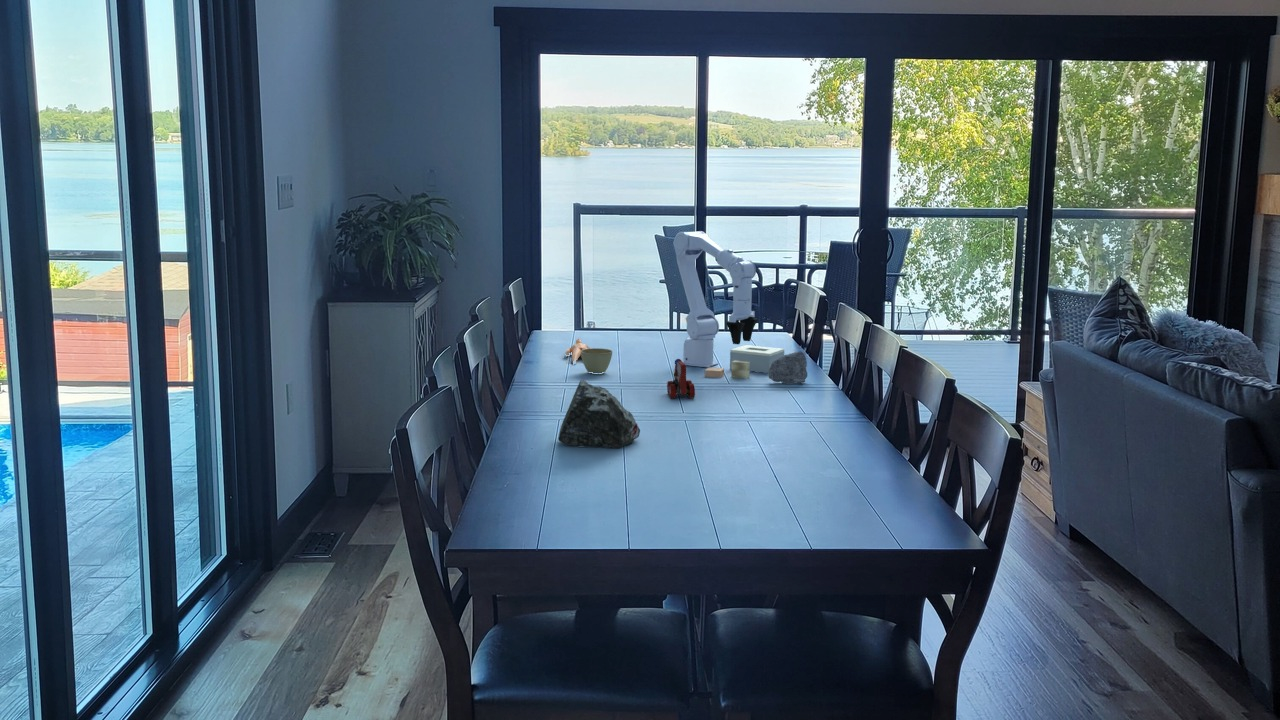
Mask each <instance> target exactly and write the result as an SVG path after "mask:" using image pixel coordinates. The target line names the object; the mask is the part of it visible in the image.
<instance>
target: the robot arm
mask: <svg viewBox="0 0 1280 720" xmlns="http://www.w3.org/2000/svg"><path fill="white" fill-rule="evenodd" d="M672 245H673V248H674V252H675V257H676V263H677V267H678V271H679V274H680V279H681V282H682V285H683V289H684V292H685V297H686V300H687V305H688V307H689V310H690V311H689V312H688V314H687V316H686V317H685V322H686V333H687V335H688V337H687V338H685V340H684V343H683V359H682V360H683V361H682V362H683V363H684V364H685V365H686V366H690V367H691V366H692V367H701V368H708V367H710V368H711V367H713V366H716V365H719V363H718V361H714V339H716V335H717V334H718V333H719V329H720V325H719V321H718V319H717V318H716V316H715V314H714V312H713V311H712V310H711V309H710V308H708V307H707V304H706V300H705V296H704V293H703V289H702V286H701V282H700V279H699V274H698V271H697V267H696V263H695V261H696V260H697V259H698V258H699V256H700V255H701V254H702V253H703V252H705V253H706V254H708V255H710V256H711V257H713V258H715V259H716V263H717V265H719V267H721V268H723V269H724V270H725V271H726V272H728V273H729V275H730V278H731V284H732V286H733V287H732V288H733V290H732V291H733V294H732V295H733V297H732V298H733V299H732V300H733V301H732V313H731V314H730V315H728V321H727V320H726V323H725V324H726V326H727V328H728V330H729V334H730V337H731V341H732V344H733V345H741V342H742V341H741V339H743V341H744V342H751V341H752V340H751V339H752V334H753V331H754V327H755V326H756V324H757V323H758V318H756V317H755V315H756V314H755V310H752V295H753V294H752V293H753V292H752V291H753V290H752V289H753V287H752V286H753V278H755V277H756V274H757V268H756V265H755V263H754V262H753V261H752V260H750V259H749V260H747V259H746V260H745V259H744V258H743V257H742V256H739V255H737V254H736V253H734V250H733V249H732V248H729V249H728V248H726V249H725V248H724V249H723V248H721V246H719V245H718V244H717V243H716V242H714V241H713V240H712V239H711V238H709V234H707V233H705V231H702V230H699V231H679V232H678V233H676V235H675V237H674V240H673V242H672Z"/></svg>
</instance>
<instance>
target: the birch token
mask: <svg viewBox="0 0 1280 720" xmlns="http://www.w3.org/2000/svg"><path fill="white" fill-rule="evenodd" d="M749 369H750V362H745V361H736V360H735V361H732V369H731V374H730V375H731V378H733V377H734V379H742V378H745V379H744V380H747V379H750V371H749ZM746 378H747V379H746Z"/></svg>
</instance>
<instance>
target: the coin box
mask: <svg viewBox="0 0 1280 720" xmlns="http://www.w3.org/2000/svg"><path fill="white" fill-rule="evenodd" d="M729 350H730V351H729V355H730V356H729V357H730V358H729V370H732V361H735V360H736V361H745V362H750V369H749V372H750V371H755V372H754V373H759V372H764V373H763V374H768V370H769V368H770V367H771V364H772V362H773V361H774V360H776V359H777V358H780V357H782V356H784V355H785V348H779V347H770V346H769V347H768V346H758V345H750V344H744V345H741V346H738V347H735V348H734V347H733V348H732V349H731V348H730V349H729Z"/></svg>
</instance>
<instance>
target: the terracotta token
mask: <svg viewBox="0 0 1280 720" xmlns="http://www.w3.org/2000/svg"><path fill="white" fill-rule="evenodd" d="M724 375H725V368H723V367H711V366H710V367H706V369H705V370H704V377H705V378H719V379H721V378H722V377H724Z"/></svg>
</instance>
